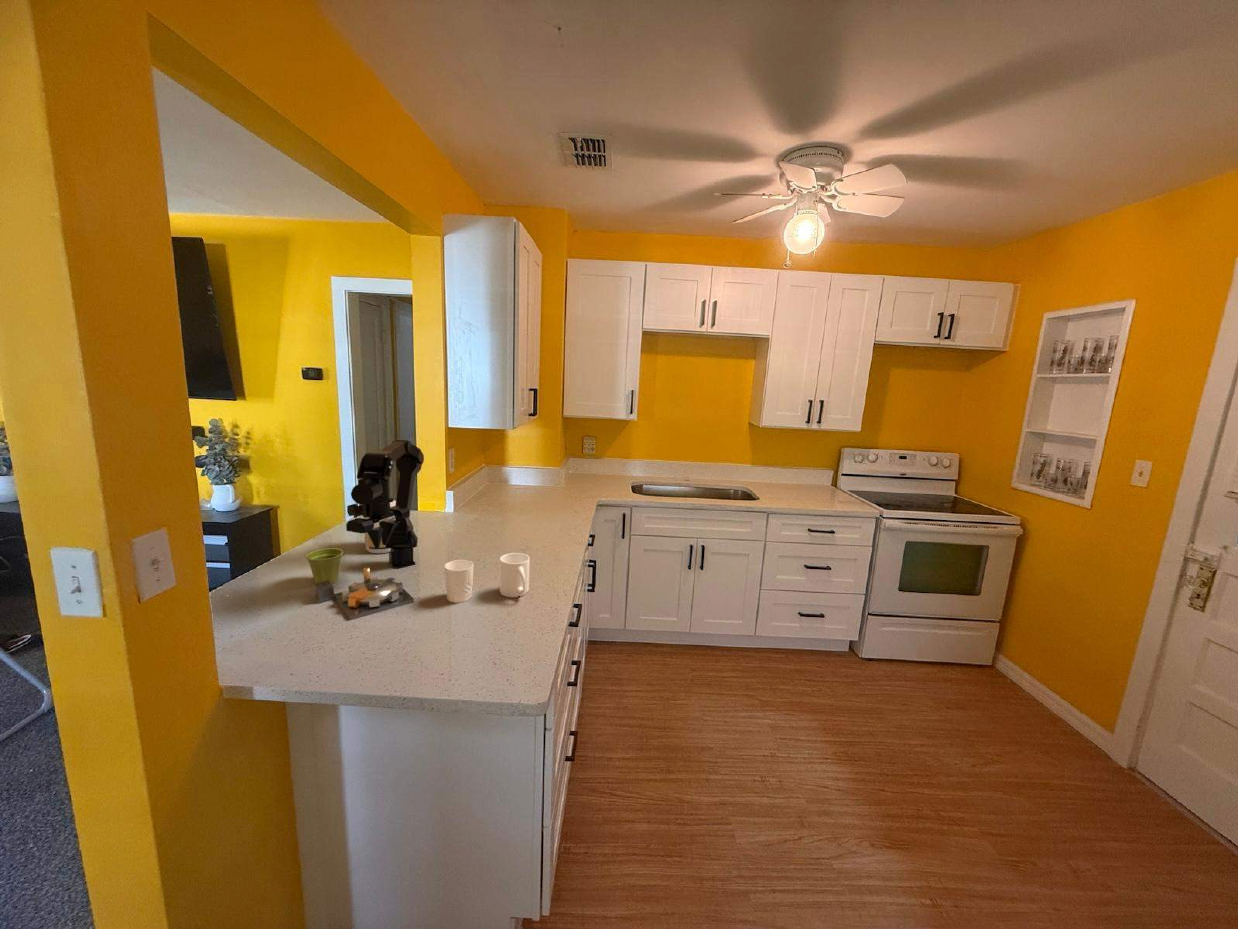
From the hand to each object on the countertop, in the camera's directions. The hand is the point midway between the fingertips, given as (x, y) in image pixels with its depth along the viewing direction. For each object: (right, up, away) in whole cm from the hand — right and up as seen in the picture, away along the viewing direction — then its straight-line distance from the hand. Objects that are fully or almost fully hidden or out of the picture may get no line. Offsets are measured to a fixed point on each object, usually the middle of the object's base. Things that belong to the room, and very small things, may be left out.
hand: (380, 546), depth 136 cm
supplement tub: (-14, -6, +30) cm, 34 cm away
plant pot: (-18, -11, +2) cm, 21 cm away
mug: (+40, -15, +1) cm, 43 cm away
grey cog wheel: (+2, -12, -8) cm, 15 cm away
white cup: (+25, -14, -3) cm, 29 cm away
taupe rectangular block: (-11, -13, -8) cm, 19 cm away
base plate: (+2, -14, -7) cm, 16 cm away
